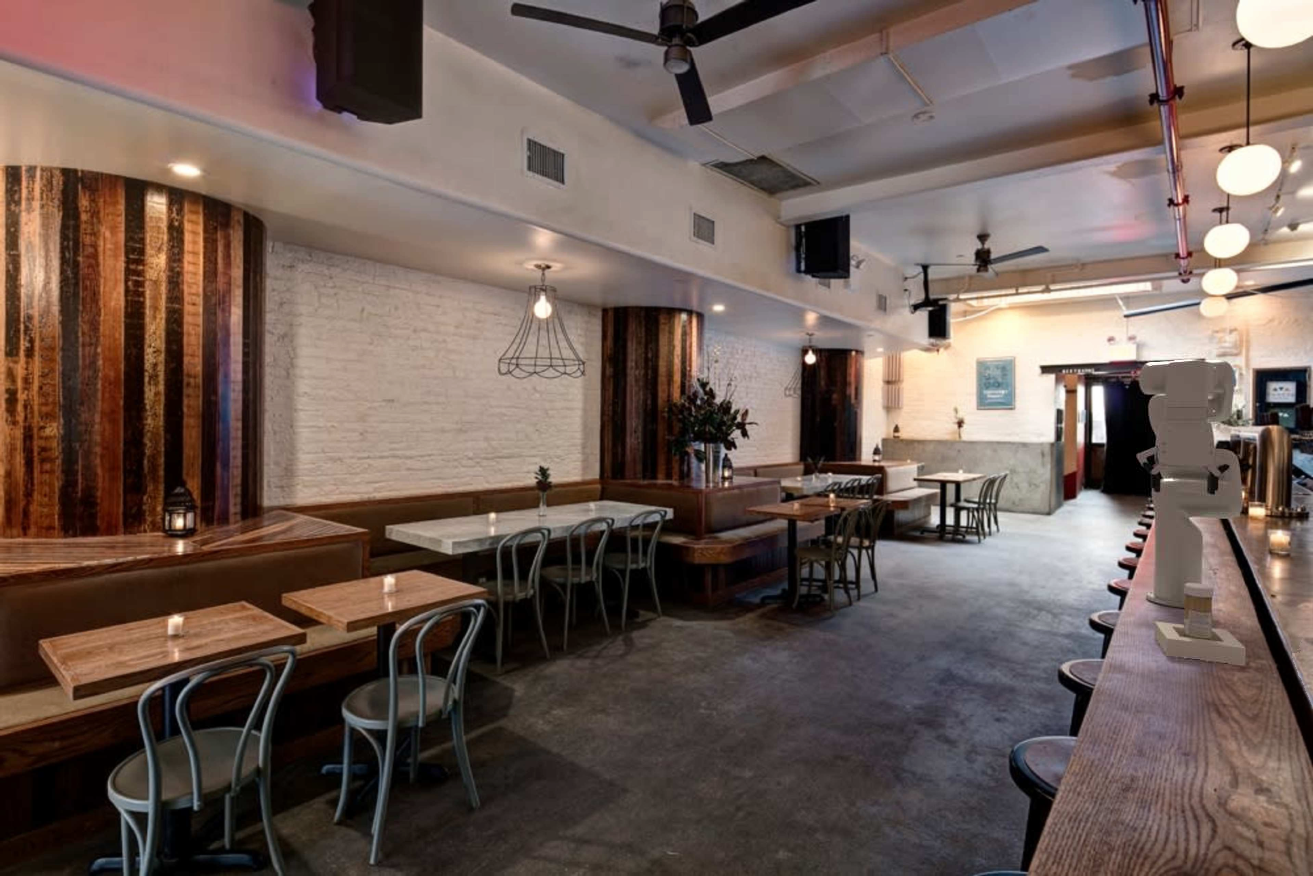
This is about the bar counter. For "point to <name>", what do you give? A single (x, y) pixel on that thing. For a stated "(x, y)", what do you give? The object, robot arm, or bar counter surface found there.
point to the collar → (1200, 644)
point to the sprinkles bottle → (1198, 611)
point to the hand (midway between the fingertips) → (1183, 492)
